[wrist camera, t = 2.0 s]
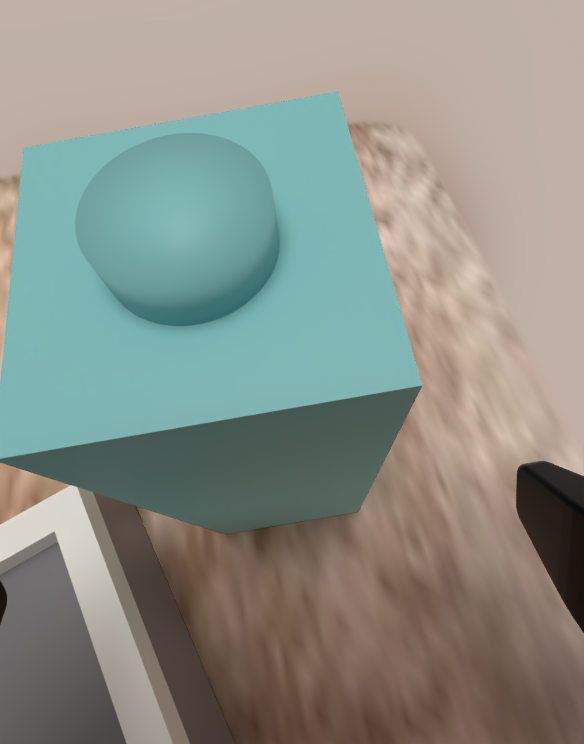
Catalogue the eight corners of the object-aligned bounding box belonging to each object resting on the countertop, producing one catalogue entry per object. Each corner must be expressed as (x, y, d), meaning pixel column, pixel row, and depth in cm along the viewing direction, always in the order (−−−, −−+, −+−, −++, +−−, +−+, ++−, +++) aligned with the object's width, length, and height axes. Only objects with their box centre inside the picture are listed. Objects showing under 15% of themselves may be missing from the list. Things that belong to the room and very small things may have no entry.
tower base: (240, 756, 15) (205, 830, 11) (-34, 942, 13) (-196, 1108, 9) (134, 502, 18) (75, 482, 14) (-94, 633, 17) (-233, 654, 13)
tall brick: (358, 511, 17) (437, 355, 5) (225, 534, 17) (-61, 443, 5) (332, 387, 19) (338, 38, 7) (213, 408, 19) (-12, 100, 7)
